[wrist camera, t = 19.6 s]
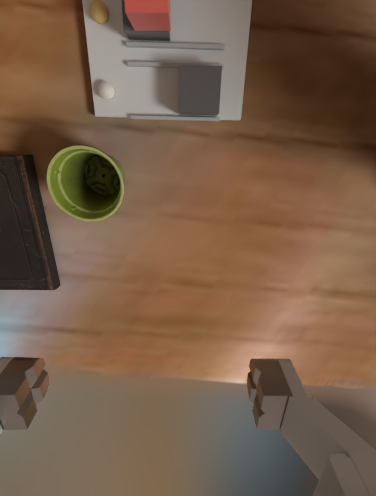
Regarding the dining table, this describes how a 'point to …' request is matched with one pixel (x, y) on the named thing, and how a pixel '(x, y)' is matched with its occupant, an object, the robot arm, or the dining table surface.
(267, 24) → the dining table surface
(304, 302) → the dining table surface
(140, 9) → the red block
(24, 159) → the hardcover book
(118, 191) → the plant pot
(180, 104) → the block
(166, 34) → the block
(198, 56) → the breaker panel
